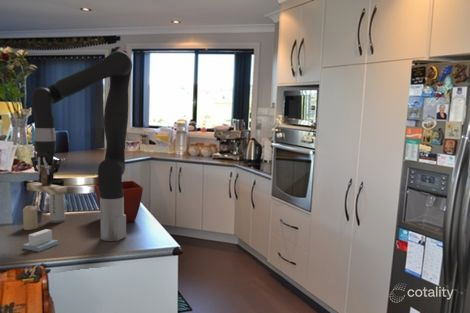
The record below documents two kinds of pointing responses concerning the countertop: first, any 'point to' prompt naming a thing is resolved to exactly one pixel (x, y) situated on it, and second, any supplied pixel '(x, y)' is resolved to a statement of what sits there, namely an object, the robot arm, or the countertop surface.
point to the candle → (30, 218)
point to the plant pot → (128, 198)
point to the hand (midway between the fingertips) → (46, 183)
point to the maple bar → (46, 185)
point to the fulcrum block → (40, 241)
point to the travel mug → (57, 204)
